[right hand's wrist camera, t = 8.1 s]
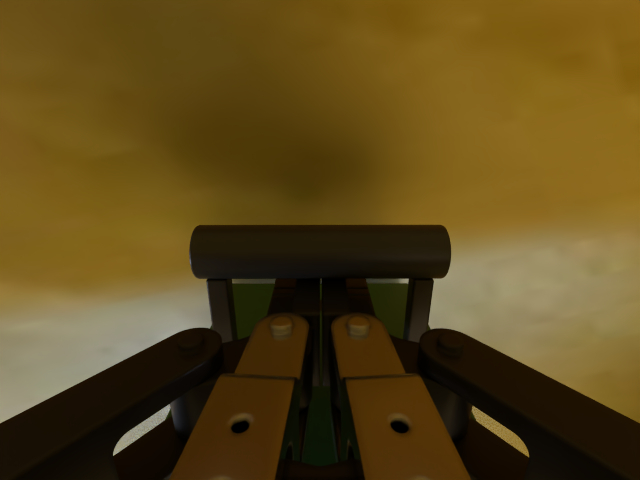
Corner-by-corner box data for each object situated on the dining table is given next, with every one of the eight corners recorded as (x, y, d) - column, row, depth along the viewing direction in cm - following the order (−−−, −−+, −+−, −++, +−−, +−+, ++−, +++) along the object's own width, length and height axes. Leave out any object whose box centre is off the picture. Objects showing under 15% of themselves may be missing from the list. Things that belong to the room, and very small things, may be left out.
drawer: (220, 178, 16) (86, 277, 7) (418, 178, 16) (554, 276, 7) (253, 489, 24) (210, 733, 15) (387, 488, 24) (430, 732, 15)
